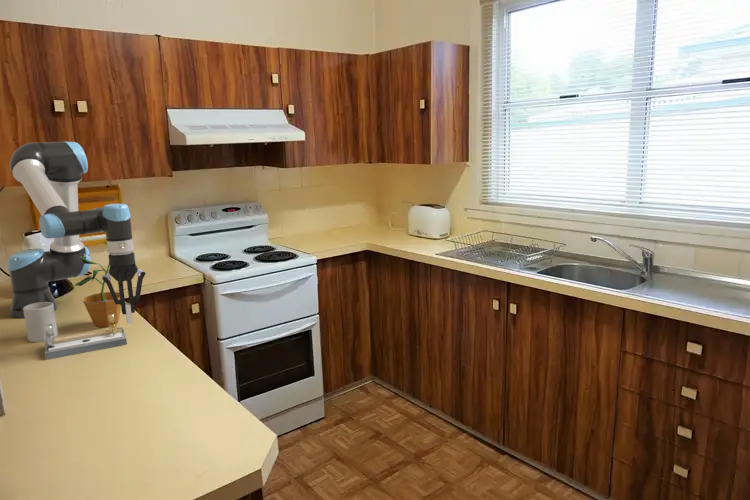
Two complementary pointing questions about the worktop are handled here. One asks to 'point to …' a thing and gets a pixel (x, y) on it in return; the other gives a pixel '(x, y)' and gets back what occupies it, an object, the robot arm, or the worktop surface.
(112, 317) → the brass slider pointer
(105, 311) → the potted plant
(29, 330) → the mug
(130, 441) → the worktop surface
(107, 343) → the board
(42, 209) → the robot arm
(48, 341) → the fixed leg
